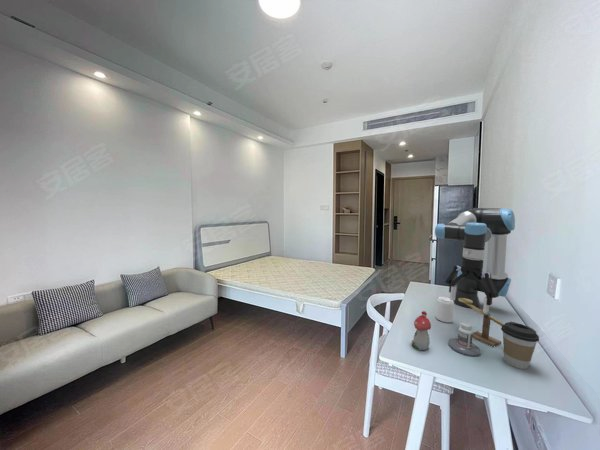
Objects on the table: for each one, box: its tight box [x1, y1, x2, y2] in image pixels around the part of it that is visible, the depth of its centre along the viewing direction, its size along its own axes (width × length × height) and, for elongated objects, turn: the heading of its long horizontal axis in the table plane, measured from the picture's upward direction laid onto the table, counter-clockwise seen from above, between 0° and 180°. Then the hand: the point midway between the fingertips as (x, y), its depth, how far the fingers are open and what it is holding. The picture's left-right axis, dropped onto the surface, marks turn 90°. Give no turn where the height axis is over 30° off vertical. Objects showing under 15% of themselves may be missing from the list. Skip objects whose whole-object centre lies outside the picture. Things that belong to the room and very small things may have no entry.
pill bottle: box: [457, 321, 474, 349], centre depth 106 cm, size 5×5×10 cm
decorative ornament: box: [411, 310, 432, 351], centre depth 106 cm, size 9×7×15 cm
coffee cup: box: [500, 321, 540, 370], centre depth 97 cm, size 11×11×15 cm
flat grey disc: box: [447, 337, 482, 358], centre depth 107 cm, size 12×12×1 cm
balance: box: [458, 298, 517, 348], centre depth 114 cm, size 7×26×16 cm, turn 27°
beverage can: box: [435, 296, 455, 324], centre depth 133 cm, size 8×8×12 cm
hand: (468, 305), depth 106 cm, fingers open, 13 cm apart
